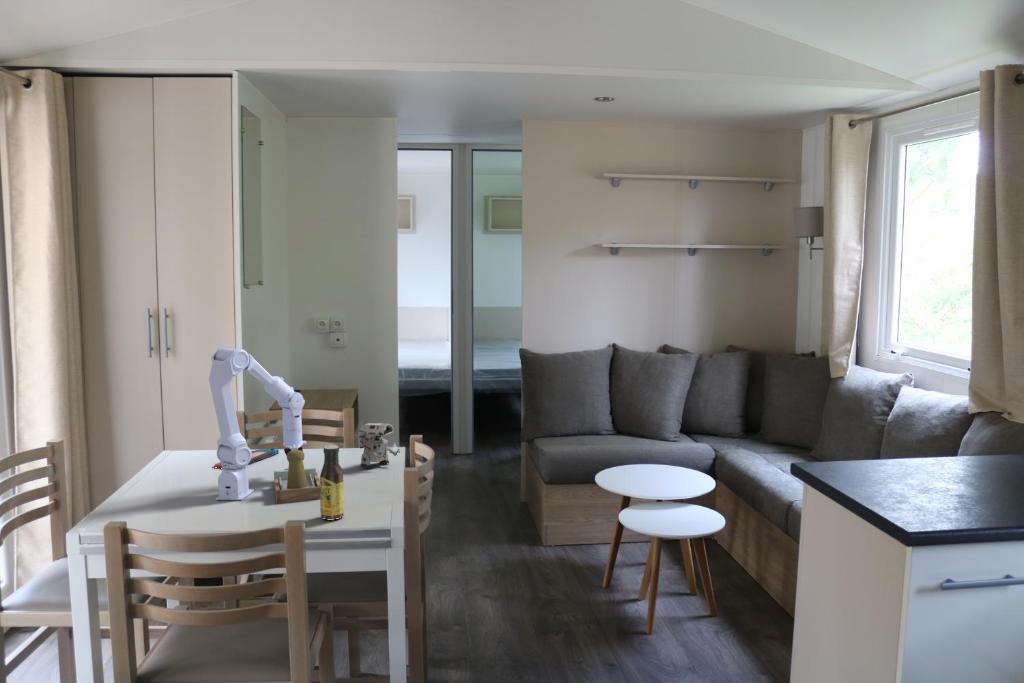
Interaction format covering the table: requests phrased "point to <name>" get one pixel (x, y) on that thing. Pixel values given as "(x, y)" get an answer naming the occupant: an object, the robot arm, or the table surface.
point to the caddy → (297, 492)
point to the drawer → (284, 478)
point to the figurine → (376, 444)
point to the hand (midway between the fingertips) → (294, 470)
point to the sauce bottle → (331, 485)
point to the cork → (296, 470)
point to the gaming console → (257, 455)
